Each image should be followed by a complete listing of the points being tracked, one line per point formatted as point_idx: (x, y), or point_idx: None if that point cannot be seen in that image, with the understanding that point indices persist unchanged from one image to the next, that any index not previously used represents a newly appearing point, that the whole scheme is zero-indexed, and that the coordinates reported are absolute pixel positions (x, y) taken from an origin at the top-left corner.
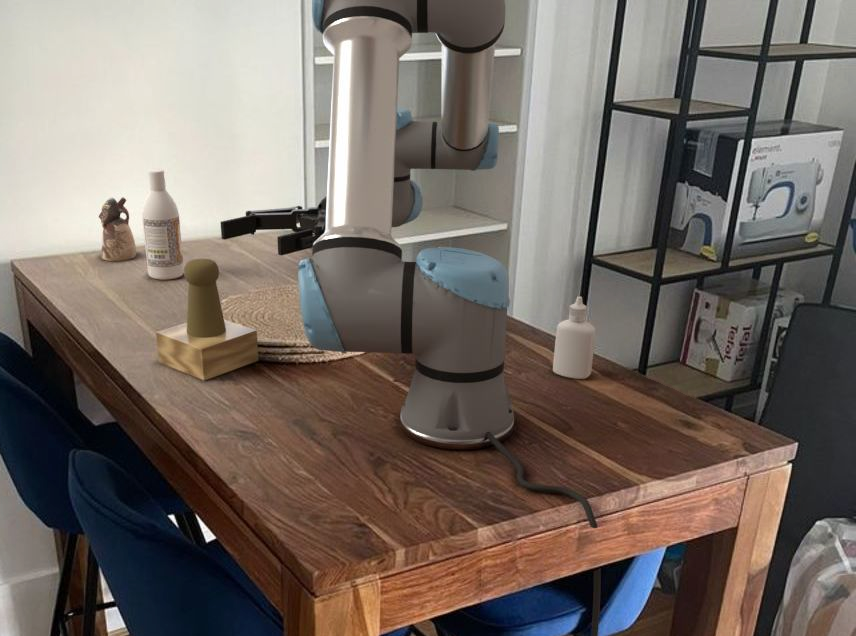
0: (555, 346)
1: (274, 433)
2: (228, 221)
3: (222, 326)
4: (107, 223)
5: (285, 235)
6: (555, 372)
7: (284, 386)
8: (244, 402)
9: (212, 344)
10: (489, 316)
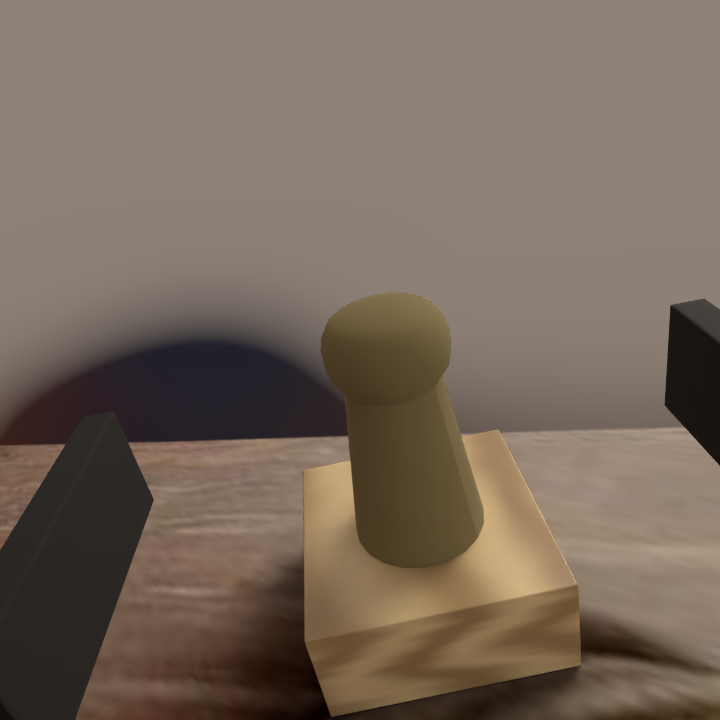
0: None
1: None
2: (695, 325)
3: (362, 529)
4: None
5: (80, 448)
6: None
7: (121, 675)
8: (154, 557)
9: (309, 496)
10: None
